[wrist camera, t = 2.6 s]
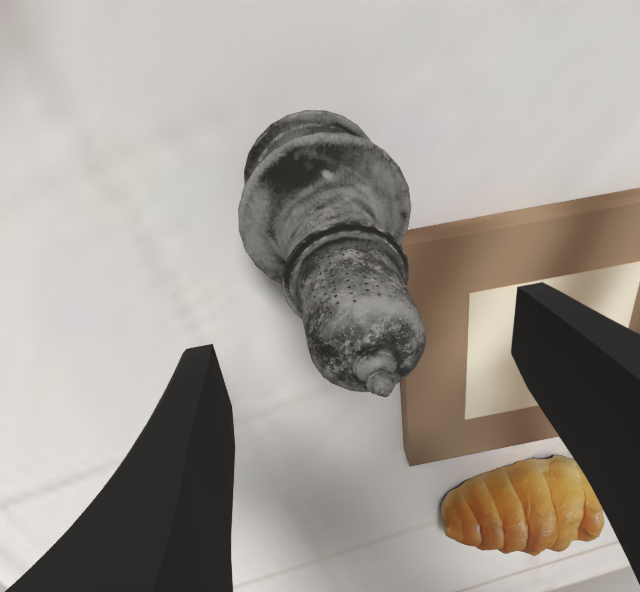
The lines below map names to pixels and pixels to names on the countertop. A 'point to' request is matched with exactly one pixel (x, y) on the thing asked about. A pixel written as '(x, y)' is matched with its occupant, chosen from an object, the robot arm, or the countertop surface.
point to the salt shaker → (335, 245)
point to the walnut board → (505, 313)
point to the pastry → (524, 507)
